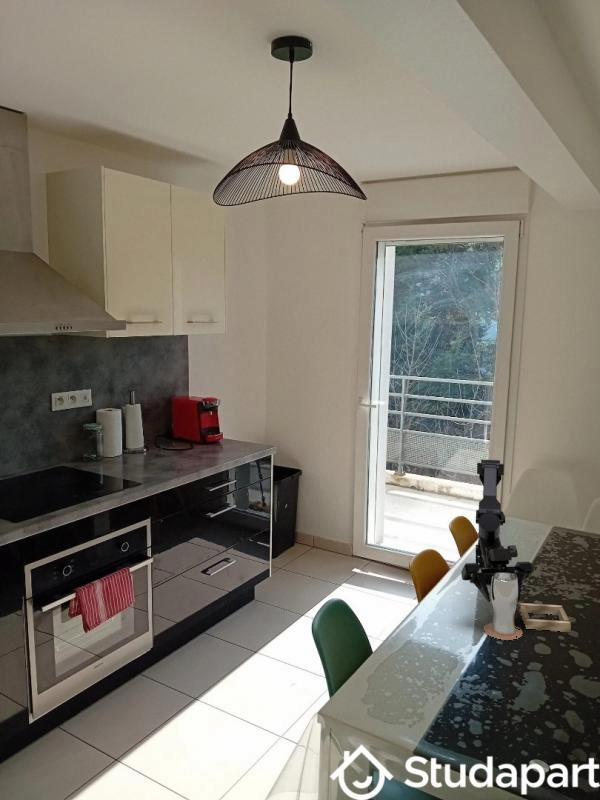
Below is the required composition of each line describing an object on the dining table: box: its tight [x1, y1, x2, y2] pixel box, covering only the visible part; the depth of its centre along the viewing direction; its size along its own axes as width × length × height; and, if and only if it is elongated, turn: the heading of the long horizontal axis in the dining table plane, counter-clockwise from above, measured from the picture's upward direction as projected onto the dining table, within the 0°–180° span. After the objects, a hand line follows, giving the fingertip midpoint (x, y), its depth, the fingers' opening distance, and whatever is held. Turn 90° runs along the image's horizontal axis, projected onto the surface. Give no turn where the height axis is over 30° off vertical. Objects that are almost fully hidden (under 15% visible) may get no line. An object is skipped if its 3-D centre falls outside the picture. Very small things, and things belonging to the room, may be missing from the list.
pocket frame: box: [519, 602, 572, 633], centre depth 177 cm, size 11×11×2 cm
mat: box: [483, 622, 523, 641], centre depth 171 cm, size 10×10×1 cm
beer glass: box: [490, 572, 518, 635], centre depth 171 cm, size 7×7×15 cm
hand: (504, 601), depth 170 cm, fingers open, 8 cm apart
